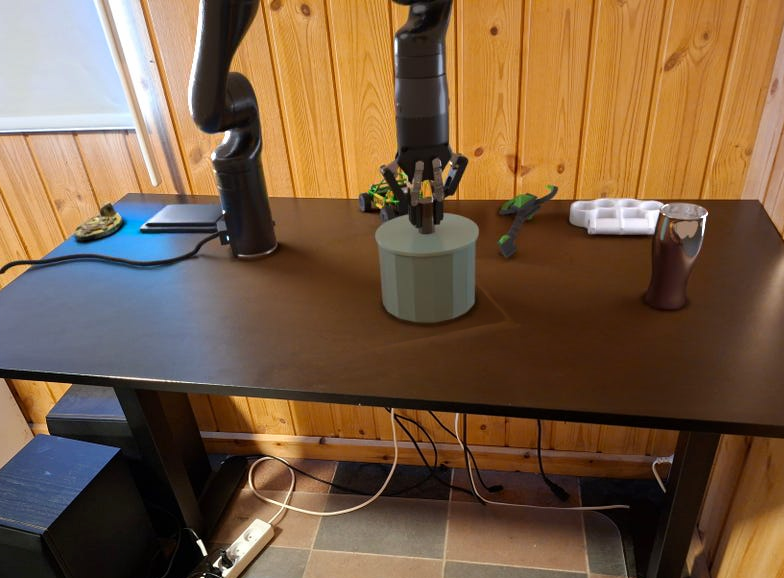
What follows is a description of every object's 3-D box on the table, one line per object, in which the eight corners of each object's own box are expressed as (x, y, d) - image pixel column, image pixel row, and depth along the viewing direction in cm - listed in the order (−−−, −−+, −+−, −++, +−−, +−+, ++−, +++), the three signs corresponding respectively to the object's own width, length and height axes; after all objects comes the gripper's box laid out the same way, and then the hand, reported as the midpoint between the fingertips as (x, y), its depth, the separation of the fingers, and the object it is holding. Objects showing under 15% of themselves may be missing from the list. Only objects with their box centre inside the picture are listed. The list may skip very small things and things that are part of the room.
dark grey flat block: (135, 224, 141) (166, 200, 153) (137, 232, 142) (168, 207, 154) (218, 224, 137) (244, 199, 149) (220, 233, 138) (245, 207, 150)
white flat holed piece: (571, 238, 123) (567, 211, 135) (670, 239, 119) (657, 210, 131) (573, 222, 121) (569, 195, 133) (673, 222, 117) (660, 195, 129)
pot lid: (391, 268, 92) (388, 228, 88) (365, 228, 105) (361, 192, 101) (495, 249, 94) (496, 209, 91) (457, 212, 108) (456, 177, 104)
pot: (398, 332, 98) (393, 262, 92) (374, 290, 111) (368, 225, 104) (489, 314, 101) (490, 244, 94) (455, 274, 113) (455, 210, 107)
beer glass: (687, 292, 102) (707, 203, 94) (689, 313, 97) (711, 220, 89) (641, 288, 105) (657, 200, 96) (641, 308, 99) (657, 217, 91)
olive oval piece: (105, 246, 139) (133, 219, 151) (100, 226, 136) (129, 200, 149) (64, 243, 140) (95, 216, 152) (58, 223, 137) (91, 197, 149)
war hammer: (530, 227, 111) (557, 166, 133) (466, 248, 118) (501, 187, 140) (542, 256, 114) (566, 192, 136) (478, 275, 121) (511, 210, 143)
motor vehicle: (404, 198, 148) (402, 153, 142) (442, 225, 133) (441, 175, 127) (358, 208, 145) (354, 162, 139) (392, 237, 129) (388, 186, 124)
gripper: (459, 97, 93) (459, 209, 103) (367, 109, 91) (377, 223, 100) (478, 107, 87) (477, 226, 97) (381, 121, 84) (389, 241, 94)
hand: (426, 224), depth 98 cm, fingers closed on pot lid, 2 cm apart
